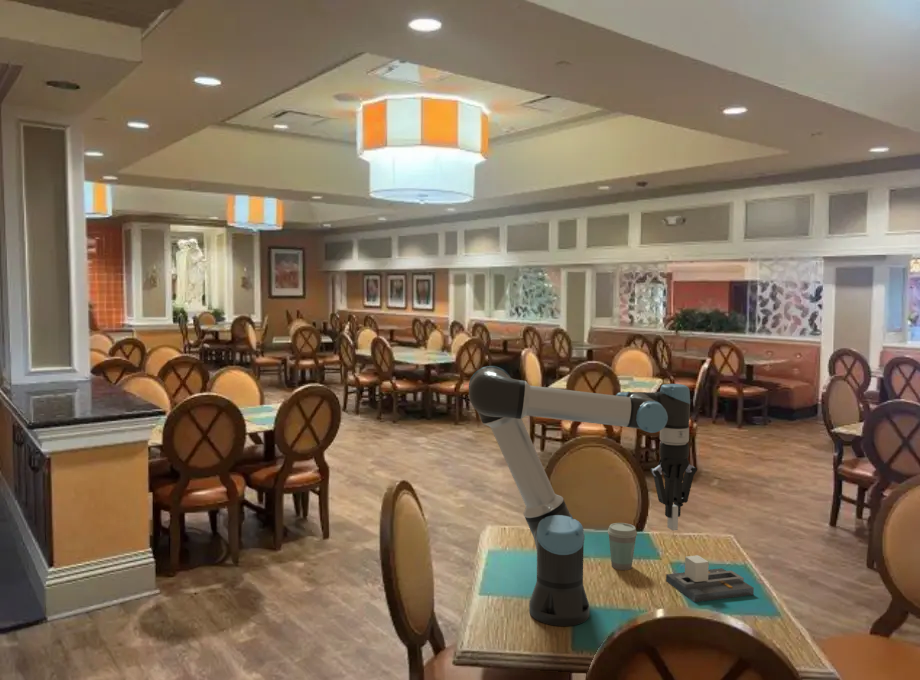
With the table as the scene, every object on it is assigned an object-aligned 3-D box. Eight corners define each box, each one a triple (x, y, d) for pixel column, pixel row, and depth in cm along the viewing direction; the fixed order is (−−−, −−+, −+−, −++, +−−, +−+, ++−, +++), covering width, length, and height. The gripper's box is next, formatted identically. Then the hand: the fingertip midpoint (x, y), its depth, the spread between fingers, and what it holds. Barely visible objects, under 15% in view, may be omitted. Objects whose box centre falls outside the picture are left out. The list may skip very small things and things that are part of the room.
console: (694, 602, 190) (694, 591, 190) (666, 581, 204) (666, 570, 204) (753, 594, 195) (753, 584, 195) (721, 574, 208) (722, 564, 208)
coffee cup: (637, 573, 209) (637, 532, 209) (606, 570, 211) (607, 530, 210) (635, 562, 218) (636, 523, 217) (606, 560, 220) (607, 521, 219)
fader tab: (694, 586, 195) (695, 563, 195) (684, 579, 200) (685, 556, 200) (708, 585, 196) (708, 561, 196) (697, 577, 201) (698, 555, 201)
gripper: (659, 446, 188) (658, 535, 190) (703, 443, 191) (701, 531, 193) (645, 440, 195) (643, 526, 197) (688, 438, 198) (686, 522, 200)
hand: (672, 528), depth 195 cm, fingers closed
